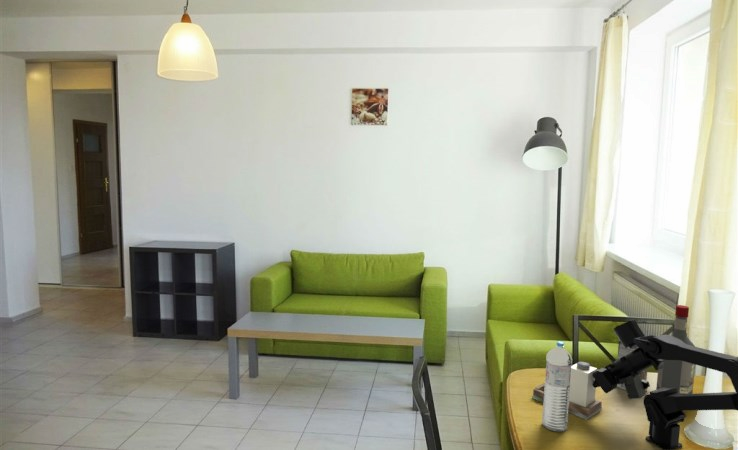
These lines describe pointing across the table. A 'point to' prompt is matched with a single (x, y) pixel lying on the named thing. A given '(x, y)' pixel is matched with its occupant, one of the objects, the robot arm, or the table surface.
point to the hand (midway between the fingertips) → (593, 386)
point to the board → (571, 404)
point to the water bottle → (557, 389)
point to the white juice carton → (582, 384)
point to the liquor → (677, 370)
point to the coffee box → (622, 352)
